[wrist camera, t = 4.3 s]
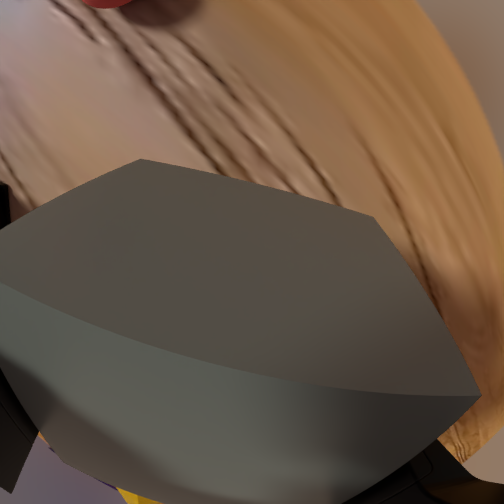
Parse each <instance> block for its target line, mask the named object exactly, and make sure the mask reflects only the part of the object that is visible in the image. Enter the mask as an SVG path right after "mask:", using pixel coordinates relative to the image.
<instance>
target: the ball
mask: <svg viewBox="0 0 504 504" xmlns="http://www.w3.org/2000/svg"><path fill="white" fill-rule="evenodd" d="M82 1H83V2H85V3H86V4H88V5H90V6H92V7H96V8H103V9H106V8H115V7H118V6H121V5H124V4H126V3H128V2H130V1H132V0H82Z"/></svg>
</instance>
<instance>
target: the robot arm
mask: <svg viewBox="0 0 504 504" xmlns="http://www.w3.org/2000/svg"><path fill="white" fill-rule="evenodd" d="M9 224H10V215H9V204H8V190H7V186H6V184H4V183H0V230H1V229H3V228H4V227H6V226H7V225H9ZM38 433H39V430H38V429H37V427H36V426H35V424H34V423H33V421H32V420H31V418H30V417H29V415H28V414H27V412H26V411H25V409H24V408H23V406H22V405H21V403H20V401H19V400H18V398H17V396H16V395H15V393H14V391H13V390H12V388H11V386H10V384H9V383H8V381H7V379H6V377H5V375H4V373H3V372H2V370H1V368H0V487H1V488H3V489H4V490H6V491H7V492H9V493H10V494H11V493H12V492H13V490H14V487H15V485H16V482H17V480H18V477H19V475H20V472H21V470H22V468H23V466H24V463H25V461H26V459H27V457H28V454H29V452H30V450H31V448H32V444H33V443H34V441H35V439H36V437H37V435H38ZM342 504H504V484H499V483H493V482H488V481H483V480H480V479H478V478H476V477H474V476H473V475H471V474H470V473H469V472H468V471H467V470H466V469H465V468H464V467H463V466H462V465H461V464H460V463H459V462H458V461H457V460H456V459H455V457H454V456H453V455H452V454H451V453H450V452H449V451H448V450H447V449H446V448H445V447H444V446H443V445H442V444H441V443H440V442H439V440H438V439H436V440H434V441H433V442H432V443H431V444H430V445H428V446H427V447H426V448H425V449H424V450H422V451H421V452H420V453H418V454H417V455H416V456H415V457H413V458H412V459H411V460H409V461H408V462H407V463H405V464H404V465H402V466H401V467H400V468H398V469H397V470H395V471H394V472H393V473H391V474H390V475H388V476H387V477H385V478H384V479H382V480H381V481H379V482H377V483H376V484H374V485H373V486H371V487H369V488H368V489H366V490H364V491H363V492H361V493H359V494H358V495H356V496H354V497H352V498H351V499H349V500H347V501H345V502H343V503H342Z"/></svg>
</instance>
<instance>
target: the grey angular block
mask: <svg viewBox="0 0 504 504" xmlns="http://www.w3.org/2000/svg"><path fill="white" fill-rule="evenodd" d="M0 368H1V370H2V372H3V373H4V375H5V377H6V379H7V381H8V383H9V384H10V386H11V388H12V390H13V391H14V393H15V395H16V396H17V398H18V400H19V401H20V403H21V405H22V406H23V408H24V409H25V411H26V412H27V414H28V415H29V417H30V418H31V420H32V421H33V423H34V424H35V426H36V427H37V429H38V430H39V431H40V433H41V434H42V436H43V437H44V438H45V440H46V441H47V442H48V444H49V445H50V446H51V448H52V449H53V450H54V451H55V453H56V454H57V455H58V456H59V458H60V459H61V460H62V461H63V462H64V463H66V464H67V465H70V466H71V467H73V468H75V469H77V470H79V471H81V472H83V473H85V474H87V475H90V476H92V477H94V478H96V479H98V480H101V481H103V482H105V483H108V484H110V485H112V486H115V487H117V488H120V489H123V490H125V491H128V492H131V493H133V494H136V495H139V496H142V497H145V498H148V499H151V500H154V501H157V502H161V503H164V504H342V503H343V502H345V501H347V500H349V499H351V498H352V497H354V496H356V495H358V494H359V493H361V492H363V491H364V490H366V489H368V488H369V487H371V486H373V485H374V484H376V483H377V482H379V481H381V480H382V479H384V478H385V477H387V476H388V475H390V474H391V473H393V472H394V471H395V470H397V469H398V468H400V467H401V466H402V465H404V464H405V463H407V462H408V461H409V460H411V459H412V458H413V457H415V456H416V455H417V454H418V453H420V452H421V451H422V450H424V449H425V448H426V447H427V446H428V445H430V444H431V443H432V442H433V441H434V440H436V439H437V438H438V437H439V436H440V435H441V434H443V433H444V432H445V431H446V430H447V429H448V428H449V427H450V426H452V425H453V424H454V423H455V422H456V421H457V420H458V419H459V418H460V417H461V416H462V415H463V414H464V413H465V412H466V411H467V410H468V409H469V408H470V407H471V406H472V405H473V404H474V403H475V402H476V401H477V400H478V399H479V398H480V397H481V396H482V395H481V393H480V390H479V388H478V386H477V384H476V382H475V380H474V378H473V376H472V374H471V372H470V370H469V368H468V366H467V364H466V362H465V360H464V358H463V356H462V354H461V352H460V350H459V348H458V346H457V345H456V343H455V341H454V339H453V337H452V335H451V334H450V332H449V330H448V328H447V327H446V325H445V323H444V321H443V320H442V318H441V316H440V315H439V313H438V311H437V310H436V308H435V306H434V305H433V303H432V301H431V300H430V298H429V297H428V295H427V293H426V292H425V290H424V289H423V287H422V286H421V284H420V282H419V281H418V279H417V278H416V276H415V275H414V273H413V272H412V270H411V269H410V267H409V266H408V264H407V263H406V261H405V260H404V259H403V257H402V256H401V254H400V253H399V251H398V250H397V249H396V247H395V246H394V244H393V243H392V242H391V240H390V239H389V237H388V236H387V235H386V233H385V232H384V231H383V229H382V228H381V227H380V225H379V224H378V223H377V221H376V220H375V219H374V217H372V216H369V215H365V214H362V213H359V212H356V211H353V210H349V209H346V208H343V207H339V206H336V205H333V204H329V203H326V202H323V201H319V200H316V199H312V198H308V197H305V196H301V195H298V194H294V193H290V192H287V191H283V190H279V189H275V188H271V187H268V186H264V185H260V184H256V183H252V182H248V181H243V180H239V179H235V178H231V177H226V176H222V175H218V174H213V173H209V172H204V171H200V170H195V169H190V168H185V167H181V166H176V165H171V164H166V163H160V162H155V161H150V160H144V159H139V160H136V161H134V162H132V163H129V164H127V165H124V166H122V167H120V168H117V169H115V170H113V171H111V172H108V173H106V174H104V175H102V176H99V177H97V178H95V179H93V180H91V181H89V182H87V183H85V184H82V185H80V186H78V187H76V188H74V189H72V190H70V191H68V192H66V193H64V194H62V195H60V196H59V197H57V198H55V199H53V200H51V201H49V202H47V203H45V204H44V205H42V206H40V207H38V208H36V209H35V210H33V211H31V212H29V213H28V214H26V215H24V216H22V217H21V218H19V219H17V220H16V221H14V222H12V223H11V224H9V225H7V226H6V227H4V228H3V229H1V230H0Z"/></svg>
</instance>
